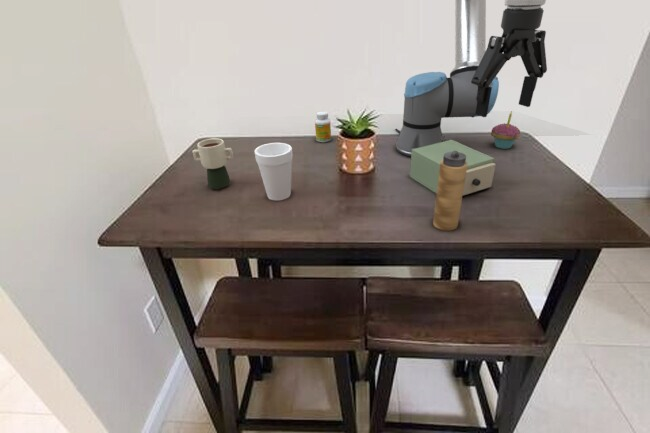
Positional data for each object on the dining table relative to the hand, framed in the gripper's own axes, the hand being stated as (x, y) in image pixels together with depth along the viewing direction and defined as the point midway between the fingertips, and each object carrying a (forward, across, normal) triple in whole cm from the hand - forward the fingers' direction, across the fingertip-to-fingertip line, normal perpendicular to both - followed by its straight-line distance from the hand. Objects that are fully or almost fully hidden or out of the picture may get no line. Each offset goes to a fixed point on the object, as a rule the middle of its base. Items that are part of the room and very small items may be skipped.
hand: (503, 110), depth 89 cm
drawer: (+20, -6, +6) cm, 21 cm away
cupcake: (+21, +26, +19) cm, 38 cm away
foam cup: (+21, -49, +25) cm, 59 cm away
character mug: (+21, -62, +39) cm, 76 cm away
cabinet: (+21, -6, +8) cm, 23 cm away
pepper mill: (+20, -21, -8) cm, 30 cm away
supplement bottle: (+21, -22, +56) cm, 64 cm away
